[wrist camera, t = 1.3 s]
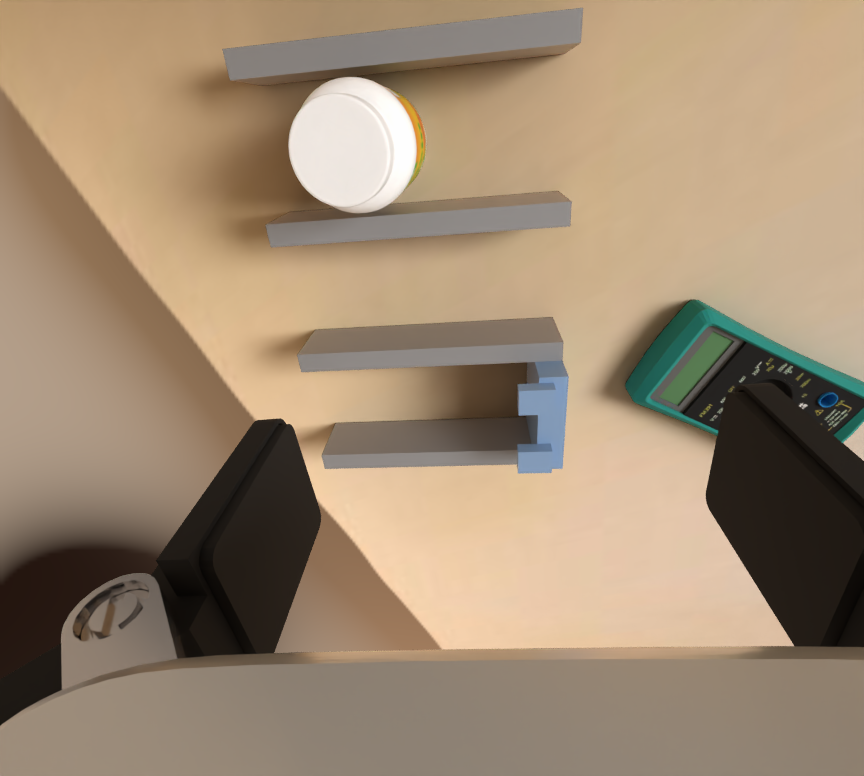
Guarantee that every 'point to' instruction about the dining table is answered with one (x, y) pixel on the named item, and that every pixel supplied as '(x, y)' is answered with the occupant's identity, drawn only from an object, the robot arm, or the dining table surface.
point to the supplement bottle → (356, 144)
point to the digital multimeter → (736, 373)
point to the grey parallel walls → (439, 342)
